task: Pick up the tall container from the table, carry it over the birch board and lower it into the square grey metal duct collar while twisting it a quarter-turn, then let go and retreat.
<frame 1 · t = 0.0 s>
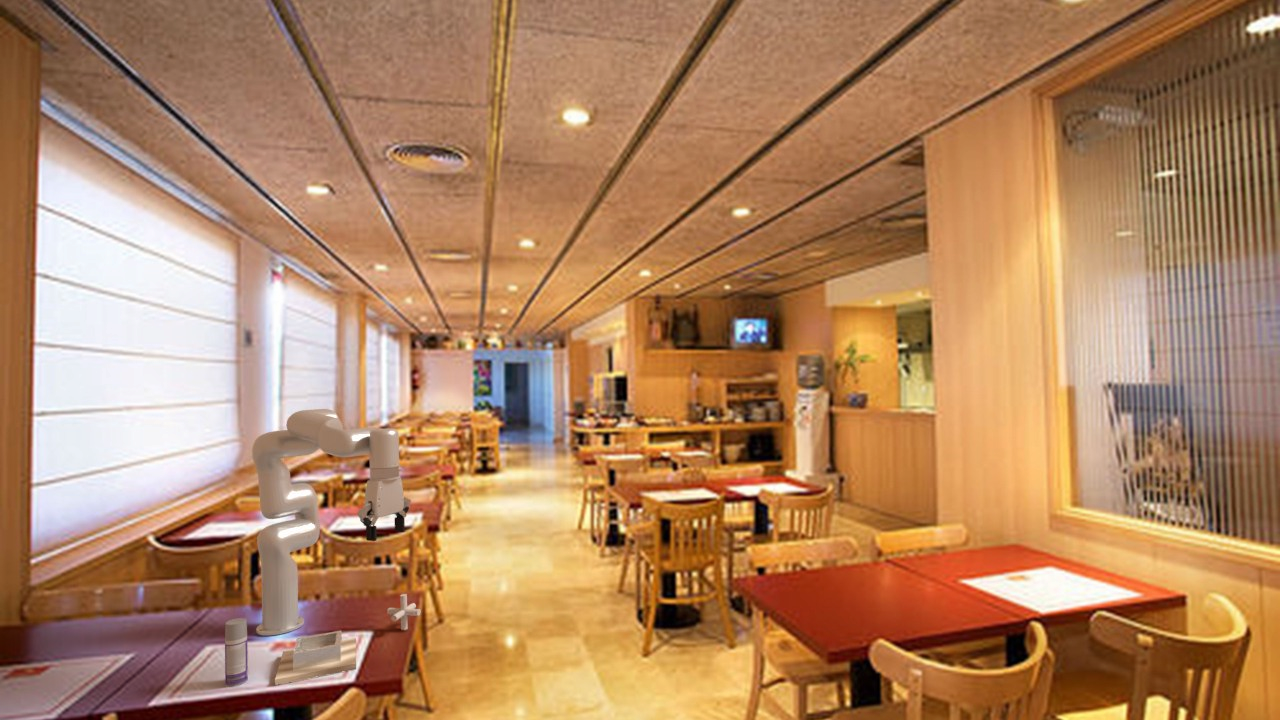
hand: (385, 536, 169), 31 cm above the table, tool pointing down, fingers open, 9 cm apart
pipe connector: (404, 629, 184), on the table
duct collar: (318, 649, 163), on the birch board, point 4 cm above the table
birch board: (318, 662, 163), on the table
container: (236, 683, 153), on the table
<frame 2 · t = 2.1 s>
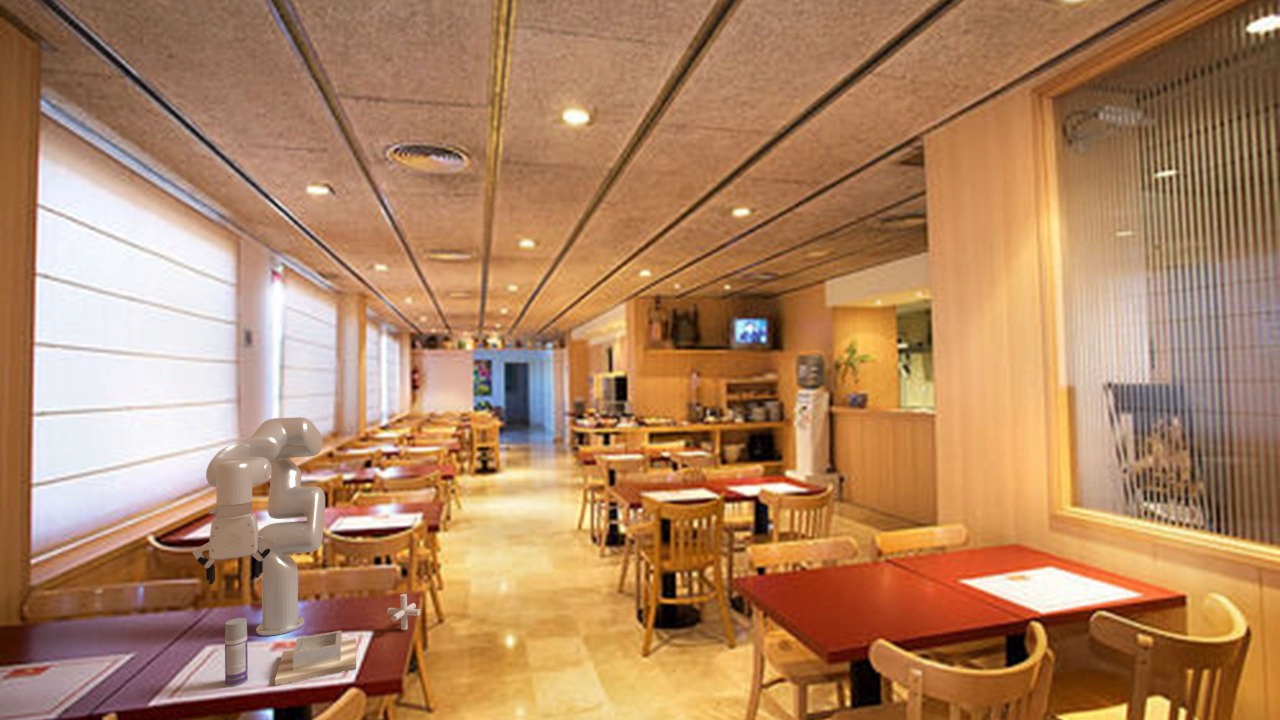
hand: (235, 579, 154), 25 cm above the table, tool pointing down, fingers open, 9 cm apart
nothing on the table moved.
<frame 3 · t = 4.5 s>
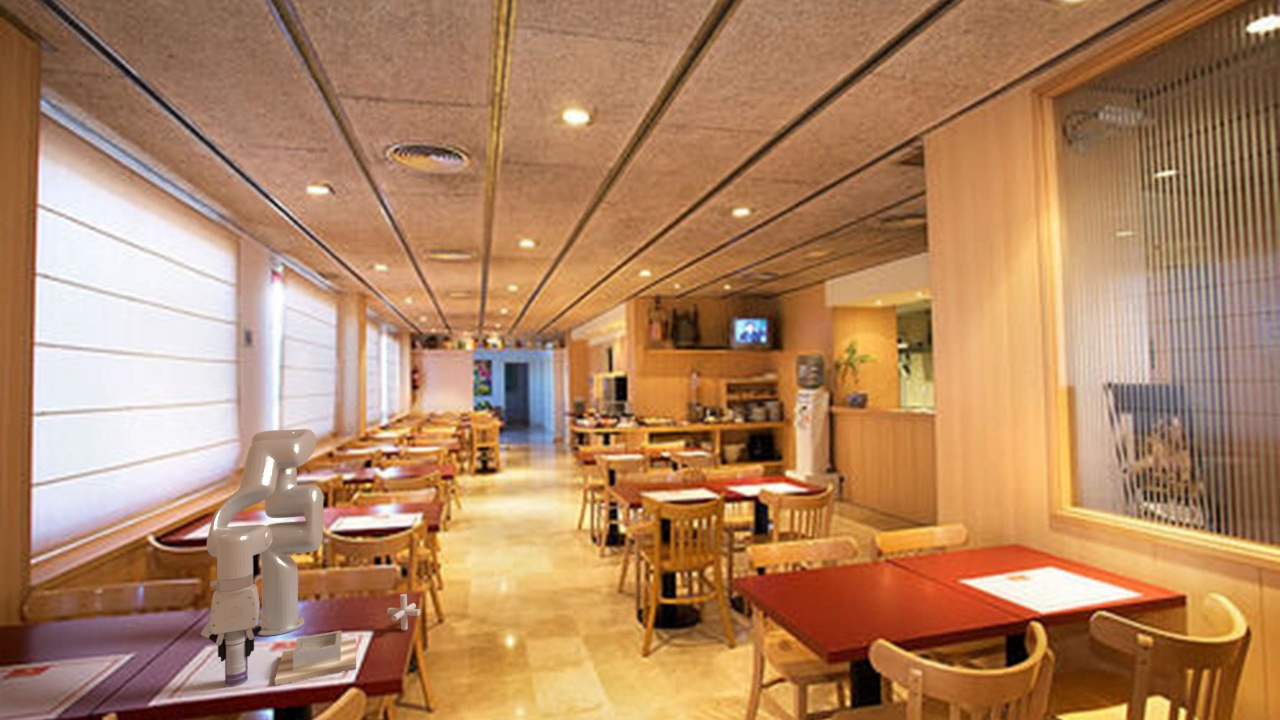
hand: (236, 656, 154), 6 cm above the table, tool pointing down, fingers closed on container, 4 cm apart
container: (236, 682, 153), on the table, touching gripper
everything else where it was.
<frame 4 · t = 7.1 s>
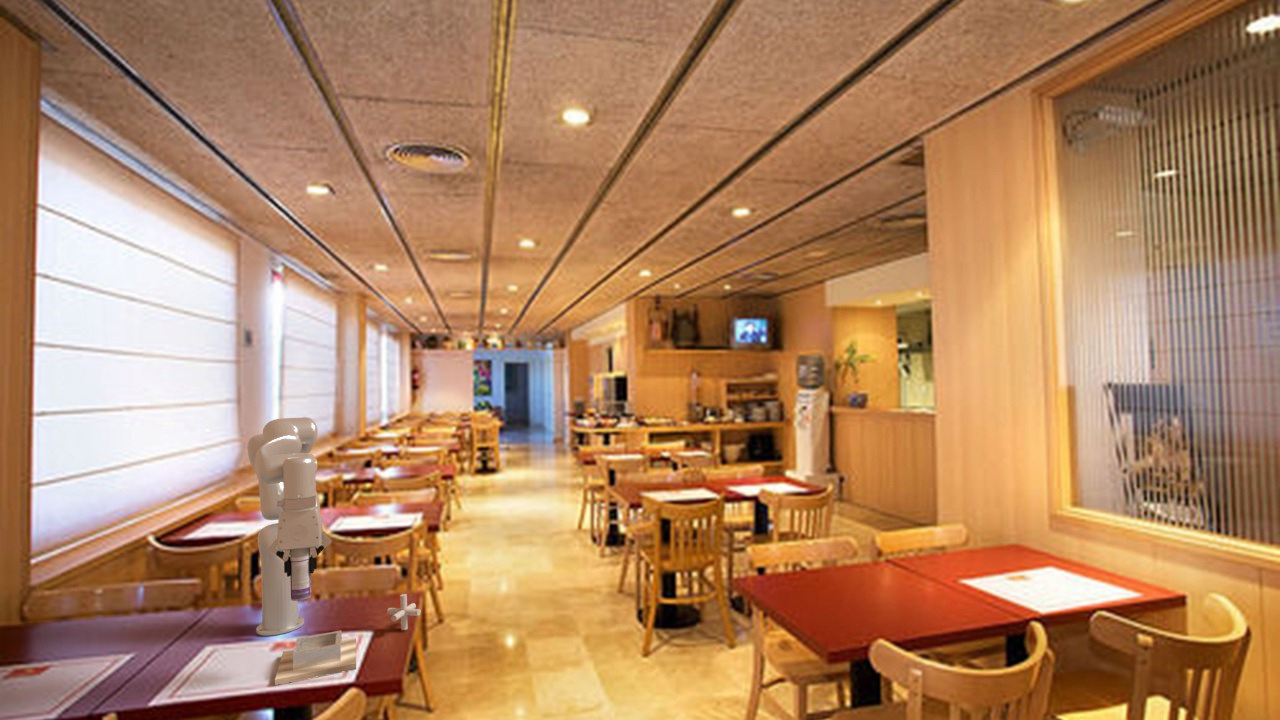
hand: (300, 572, 162), 24 cm above the table, tool pointing down, fingers closed on container, 4 cm apart
container: (301, 598, 161), point 18 cm above the table, touching gripper
everything else where it was.
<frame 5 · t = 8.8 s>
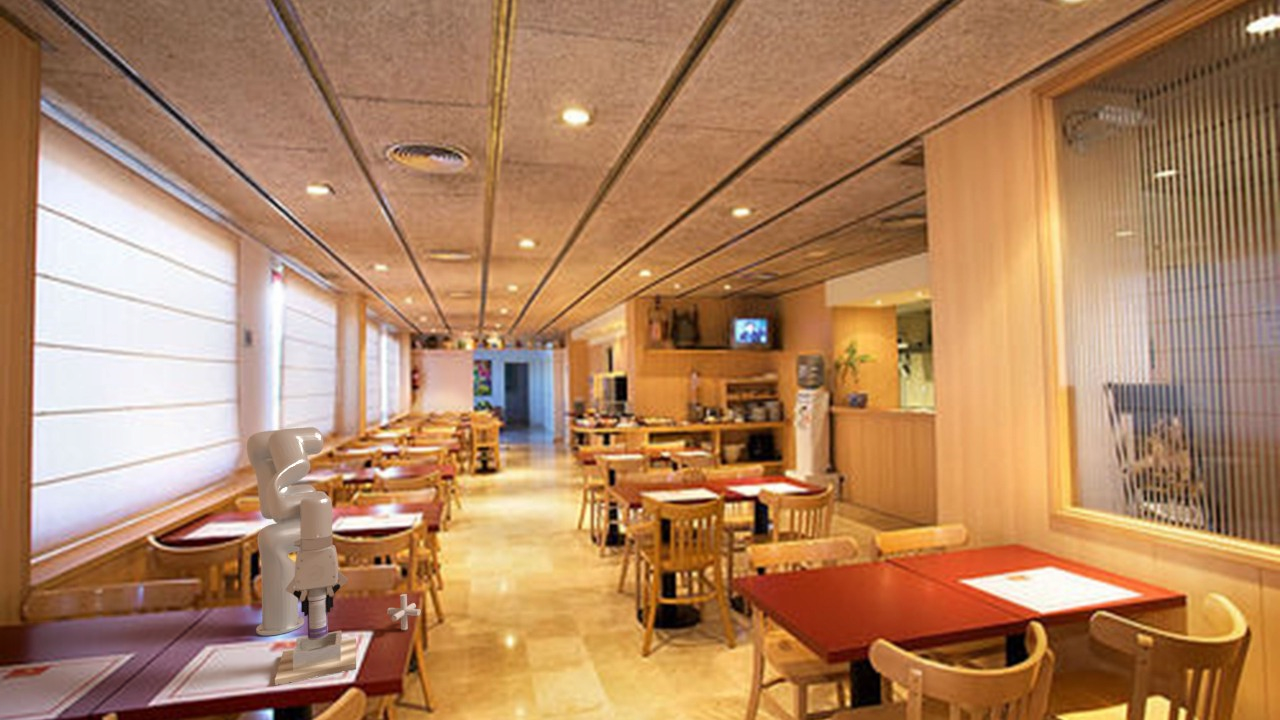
hand: (317, 611, 163), 13 cm above the table, tool pointing down, fingers closed on container, 4 cm apart
container: (318, 637, 163), point 7 cm above the table, touching gripper
everything else where it was.
when the fingers open (10 cm above the table, at t = 9.9 s): container drops 2 cm, resting on birch board.
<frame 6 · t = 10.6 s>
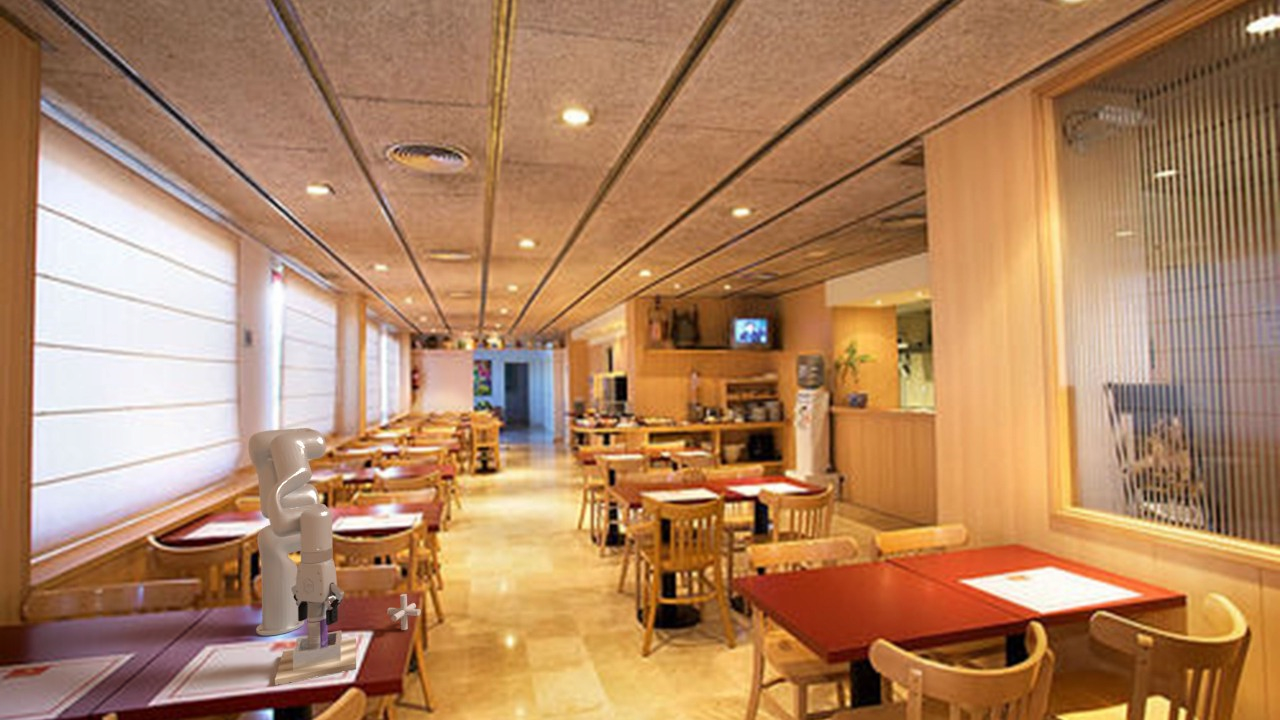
hand: (317, 621, 163), 11 cm above the table, tool pointing down, fingers open, 9 cm apart
container: (318, 657, 163), point 1 cm above the table, touching birch board
everything else where it was.
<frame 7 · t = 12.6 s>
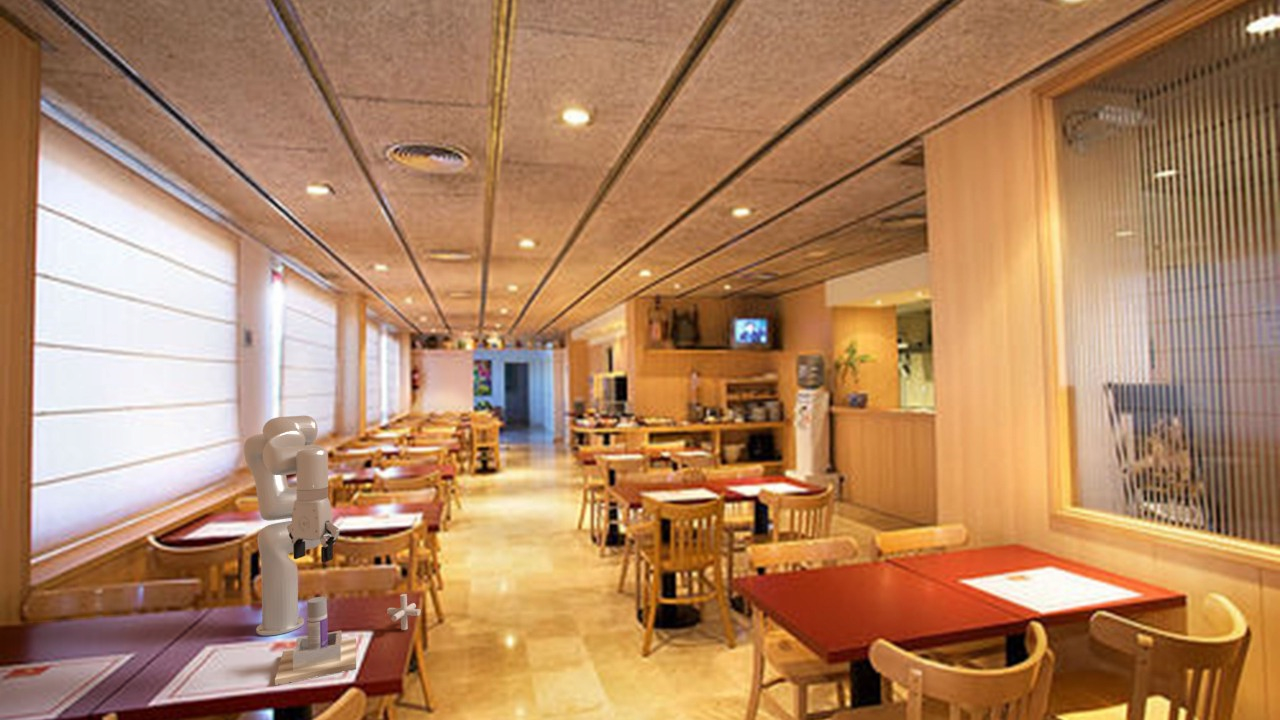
hand: (313, 559, 164), 27 cm above the table, tool pointing down, fingers open, 9 cm apart
nothing on the table moved.
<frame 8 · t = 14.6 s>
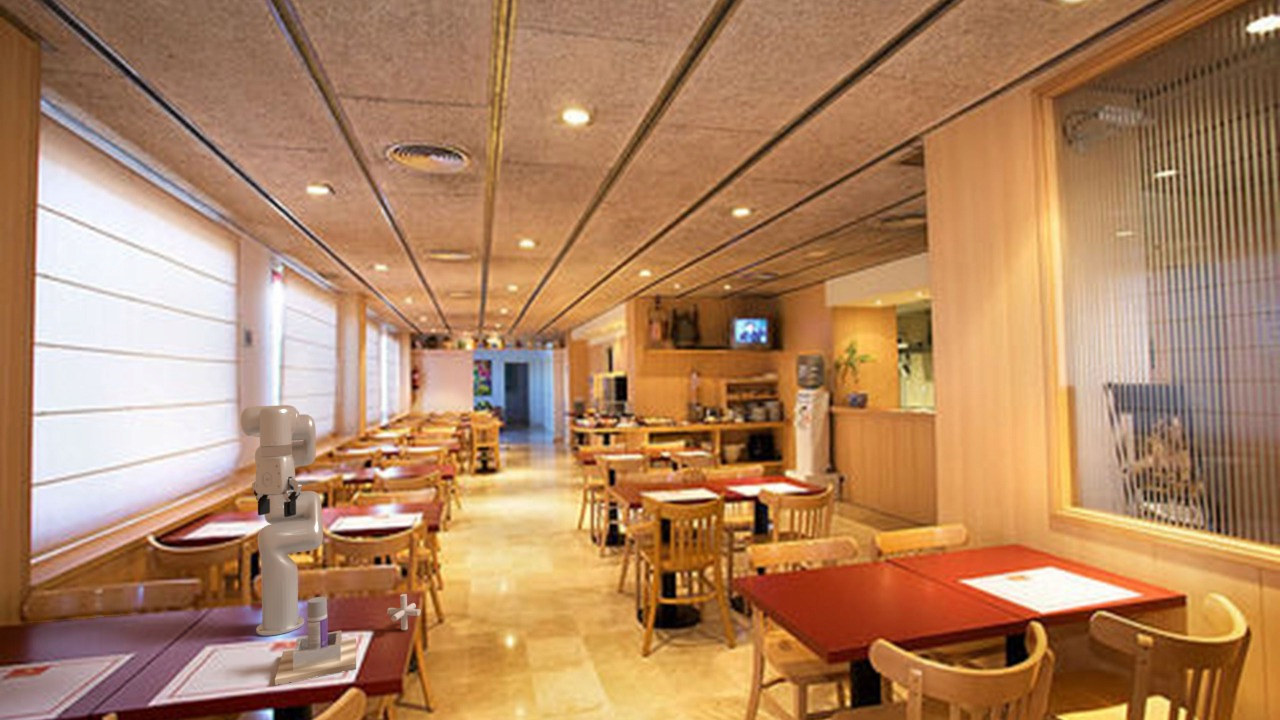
hand: (276, 515, 168), 38 cm above the table, tool pointing down, fingers open, 9 cm apart
nothing on the table moved.
at the end: container 0.1 cm off-centre on the duct collar, point 1.3 cm above the duct collar's base; container tilted 0°; the gripper is holding nothing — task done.
